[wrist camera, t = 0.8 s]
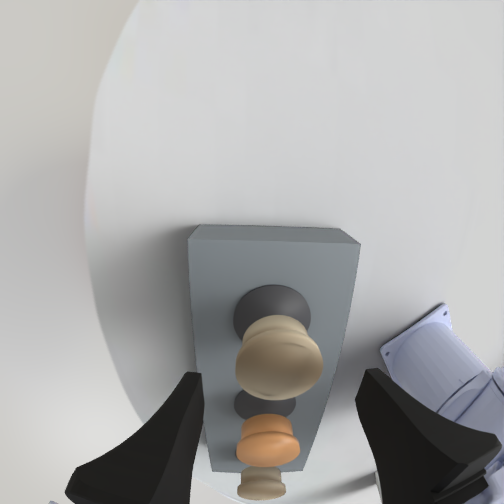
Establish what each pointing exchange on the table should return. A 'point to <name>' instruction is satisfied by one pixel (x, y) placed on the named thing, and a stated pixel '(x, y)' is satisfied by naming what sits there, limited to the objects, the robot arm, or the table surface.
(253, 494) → the beech knob far
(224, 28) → the table surface
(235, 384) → the console
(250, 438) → the orange knob
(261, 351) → the beech knob near
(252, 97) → the table surface
